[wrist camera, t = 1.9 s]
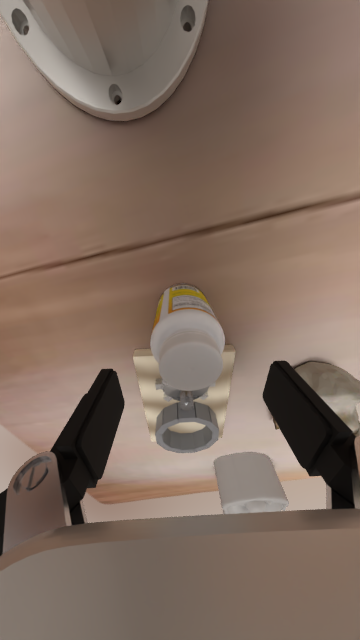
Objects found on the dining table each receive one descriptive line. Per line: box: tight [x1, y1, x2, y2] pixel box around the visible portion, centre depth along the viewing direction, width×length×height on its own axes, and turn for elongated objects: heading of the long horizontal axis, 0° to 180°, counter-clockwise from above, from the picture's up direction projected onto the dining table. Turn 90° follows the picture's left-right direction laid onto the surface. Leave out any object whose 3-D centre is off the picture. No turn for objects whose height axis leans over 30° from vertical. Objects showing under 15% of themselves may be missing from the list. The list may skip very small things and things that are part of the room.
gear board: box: [133, 345, 236, 442], centre depth 25 cm, size 20×13×2 cm, turn 2°
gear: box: [155, 378, 216, 411], centre depth 20 cm, size 8×8×4 cm
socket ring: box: [155, 401, 219, 453], centre depth 25 cm, size 10×10×2 cm
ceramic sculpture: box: [273, 362, 360, 437], centre depth 23 cm, size 11×9×15 cm
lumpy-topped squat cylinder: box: [214, 452, 289, 514], centre depth 34 cm, size 10×13×9 cm
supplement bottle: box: [150, 283, 225, 391], centre depth 14 cm, size 6×6×10 cm
